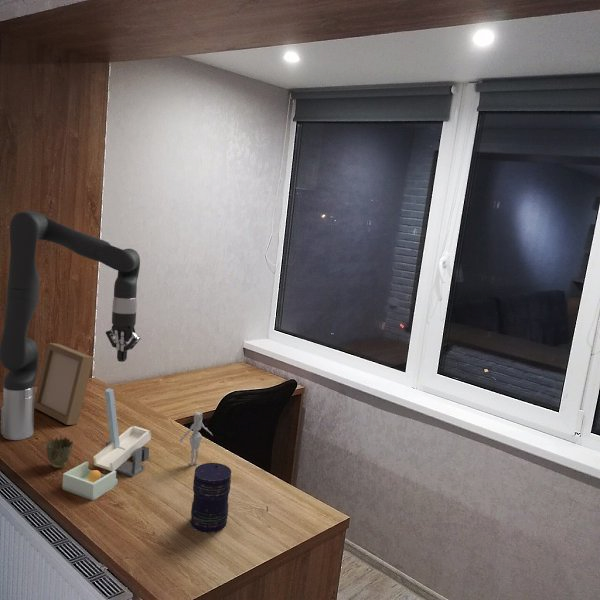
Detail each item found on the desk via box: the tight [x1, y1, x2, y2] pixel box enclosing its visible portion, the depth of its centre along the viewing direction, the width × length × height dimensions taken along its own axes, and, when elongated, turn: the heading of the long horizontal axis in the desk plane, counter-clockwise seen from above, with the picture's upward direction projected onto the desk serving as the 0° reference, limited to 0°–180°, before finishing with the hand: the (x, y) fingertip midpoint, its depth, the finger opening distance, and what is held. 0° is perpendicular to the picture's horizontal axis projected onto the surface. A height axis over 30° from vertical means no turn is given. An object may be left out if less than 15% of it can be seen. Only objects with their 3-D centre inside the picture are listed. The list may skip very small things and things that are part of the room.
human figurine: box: [178, 411, 213, 467], centre depth 181 cm, size 12×4×18 cm, turn 130°
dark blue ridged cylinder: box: [190, 462, 232, 534], centre depth 151 cm, size 10×10×15 cm
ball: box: [88, 469, 102, 483], centre depth 164 cm, size 4×4×4 cm
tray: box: [62, 460, 119, 502], centre depth 163 cm, size 11×10×5 cm
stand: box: [105, 439, 150, 478], centre depth 178 cm, size 12×12×8 cm
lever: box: [93, 388, 152, 472], centre depth 171 cm, size 9×18×21 cm, turn 158°
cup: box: [45, 437, 73, 470], centre depth 172 cm, size 8×7×8 cm
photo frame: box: [34, 342, 94, 426], centre depth 210 cm, size 15×22×25 cm
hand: (121, 361), depth 187 cm, fingers closed
